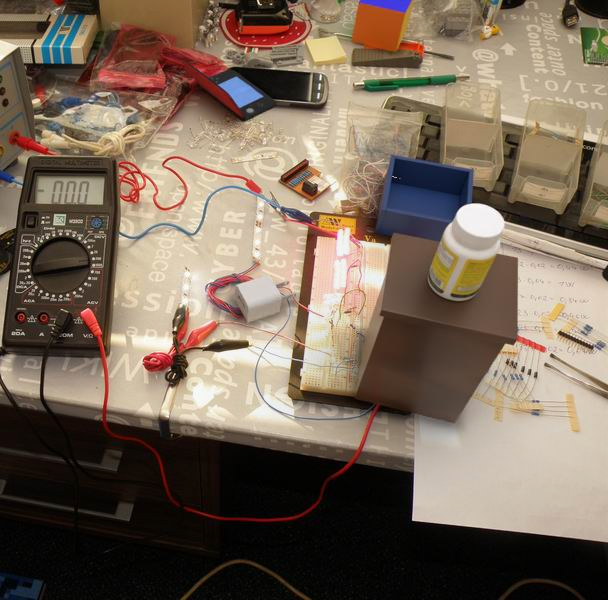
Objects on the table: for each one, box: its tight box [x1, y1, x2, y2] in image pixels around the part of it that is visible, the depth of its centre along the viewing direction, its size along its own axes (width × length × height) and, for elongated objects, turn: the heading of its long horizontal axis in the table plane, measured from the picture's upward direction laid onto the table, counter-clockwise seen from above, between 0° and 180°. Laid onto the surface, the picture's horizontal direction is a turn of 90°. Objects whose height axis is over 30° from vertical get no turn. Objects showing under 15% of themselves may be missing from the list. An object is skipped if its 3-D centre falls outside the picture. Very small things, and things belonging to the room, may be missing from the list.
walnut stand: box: [354, 233, 519, 424], centre depth 70 cm, size 12×10×18 cm
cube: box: [351, 0, 415, 53], centre depth 117 cm, size 8×8×8 cm
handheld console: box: [179, 57, 277, 123], centre depth 106 cm, size 12×11×7 cm
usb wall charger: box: [234, 274, 297, 324], centre depth 82 cm, size 4×7×4 cm, turn 112°
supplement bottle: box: [428, 203, 506, 301], centre depth 59 cm, size 5×5×8 cm
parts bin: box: [374, 154, 475, 242], centre depth 91 cm, size 11×11×5 cm
